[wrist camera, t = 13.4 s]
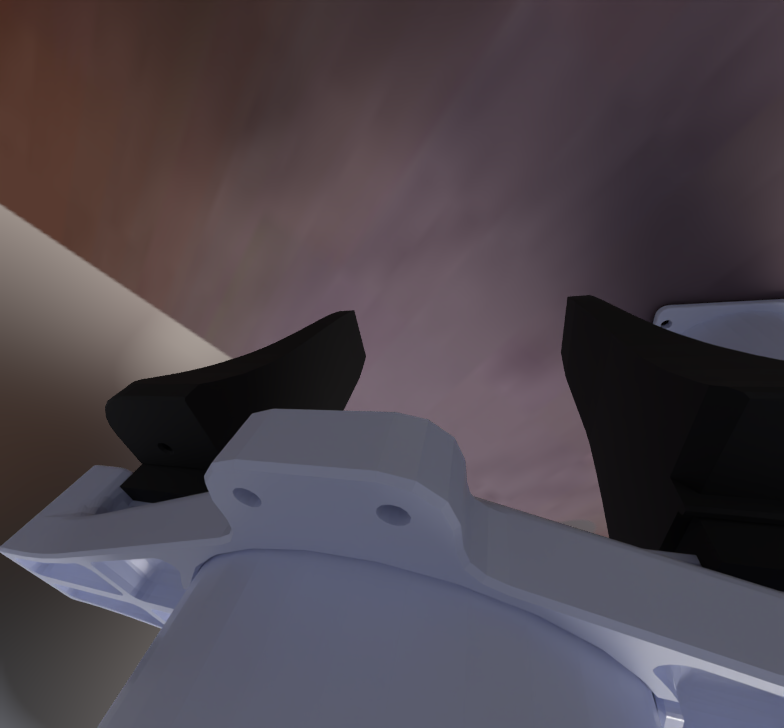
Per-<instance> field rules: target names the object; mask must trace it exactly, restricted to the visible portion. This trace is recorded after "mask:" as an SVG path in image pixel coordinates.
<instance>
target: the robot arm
mask: <svg viewBox="0 0 784 728" xmlns="http://www.w3.org/2000/svg"><path fill="white" fill-rule="evenodd" d="M666 320H669V322H668V323H667V324H666V325H661V323H662V322H664V321H666ZM561 355H562V360H563V366H564V371H565V376H566V379H567V382H568V385H569V387H570V390H571V393H572V396H573V398H574V401H575V404H576V406H577V409H578V411H579V414H580V417H581V420H582V422H583V425H584V428H585V430H586V433H587V437H588V440H589V443H590V447H591V452H592V456H593V460H594V464H595V469H596V473H597V478H598V483H599V487H600V492H601V497H602V502H603V507H604V512H605V518H606V523H607V528H608V534H609V538H607V537H604V536H600V535H597V534H594V533H591V532H587V531H584V530H581V529H578V528H574V527H571V526H568V525H565V524H562V523H558V522H555V521H552V520H549V519H546V518H542V517H539V516H536V515H533V514H529V513H526V512H523V511H520V510H517V509H513V508H510V507H507V506H504V505H500V504H497V503H494V502H491V501H487V500H484V499H481V498H478V497H475V496H473V495H472V494H471V493H470V491H469V488H468V484H467V475H466V462H465V459H464V456H463V454H462V452H461V450H460V448H459V446H458V444H457V442H456V440H455V438H454V437H453V436H451V435H450V434H448V433H447V432H445V431H444V430H443V429H441V428H440V427H438V426H437V425H435V424H434V423H433V422H431V421H430V420H428V419H424V418H419V417H415V416H411V415H406V414H402V413H397V412H372V411H343V410H344V408H345V406H346V404H347V402H348V400H349V398H350V396H351V394H352V392H353V390H354V388H355V386H356V384H357V382H358V380H359V378H360V375H361V372H362V369H363V365H364V362H365V358H366V355H365V351H364V347H363V343H362V339H361V335H360V331H359V327H358V323H357V320H356V316H355V312H354V310H352V311H339V312H336V313H333V314H331V315H328V316H326V317H324V318H322V319H320V320H318V321H316V322H315V323H313V324H311V325H309V326H307V327H305V328H303V329H302V330H300V331H298V332H296V333H294V334H292V335H290V336H288V337H286V338H284V339H282V340H280V341H278V342H276V343H273V344H271V345H269V346H267V347H264V348H262V349H259V350H257V351H254V352H252V353H249V354H246V355H244V356H240V357H237V358H234V359H231V360H228V361H225V362H222V363H218V364H215V365H211V366H207V367H204V368H199V369H195V370H191V371H186V372H181V373H176V374H171V375H165V376H159V377H153V378H148V379H141V380H138V381H135V382H133V383H131V384H130V385H128V386H127V387H126V388H125V389H123V390H122V391H120V392H119V393H118V394H116V395H115V396H113V397H112V398H111V399H110V400H108V401H107V404H106V406H105V411H106V418H107V420H108V422H109V425H110V426H111V428H112V429H113V430H114V432H115V433H116V434H117V436H118V437H119V438H120V439H121V440H122V441H123V443H124V444H125V445H126V446H127V447H128V448H129V449H130V451H131V452H132V453H133V454H134V455H135V456H136V457H137V459H138V460H139V461H140V462H141V463H143V464H142V465H141V466H140V467H139V468H138V469H137V470H136V471H135V472H134V473H133V472H131V471H129V470H127V469H125V468H120V467H111V466H101V465H96V466H93V467H92V468H91V469H90V470H89V471H87V472H86V473H85V474H84V475H83V476H82V477H80V478H79V479H78V480H77V481H76V482H75V483H74V484H72V485H71V486H70V487H69V488H68V489H67V490H66V491H64V492H63V493H62V494H61V495H60V496H58V497H57V498H56V499H55V500H54V501H53V502H52V503H50V504H49V505H48V506H47V507H46V508H45V509H44V510H42V511H41V512H40V513H39V514H38V515H36V517H34V518H33V519H32V520H31V521H30V522H28V523H27V524H26V525H25V526H24V527H22V528H21V529H20V530H19V531H18V532H17V533H16V534H14V535H13V536H12V537H11V538H10V539H9V540H7V541H6V543H4V544H3V545H2V546H1V547H0V553H2V554H3V555H5V556H7V557H8V558H10V559H11V560H13V561H14V562H16V563H17V564H19V565H21V566H22V567H24V568H25V569H26V570H28V571H30V572H31V573H33V574H34V575H36V576H37V577H39V578H41V579H42V580H43V581H45V582H47V583H48V584H50V585H51V586H53V587H54V588H56V589H57V590H59V591H60V592H62V593H63V594H65V595H67V596H68V597H70V598H71V599H74V600H78V601H81V602H85V603H88V604H92V605H95V606H98V607H101V608H104V609H108V610H110V611H113V612H116V613H119V614H122V615H125V616H128V617H131V618H134V619H136V620H139V621H142V622H145V623H147V624H150V625H153V626H156V627H158V628H161V630H160V632H159V633H158V635H157V636H156V638H155V639H154V641H153V643H152V644H151V646H150V647H149V649H148V650H147V652H146V653H145V655H144V656H143V658H142V659H141V661H140V662H139V664H138V666H137V667H136V669H135V670H134V672H133V673H132V675H131V676H130V678H129V679H128V681H127V683H126V684H125V686H124V687H123V689H122V690H121V692H120V693H119V695H118V696H117V698H116V699H115V701H114V703H113V704H112V706H111V707H110V709H109V710H108V712H107V713H106V715H105V716H104V718H103V719H102V721H101V722H100V724H99V726H98V727H97V728H784V299H774V300H755V301H737V302H718V303H699V304H680V305H667V306H663V307H661V308H660V309H659V310H657V312H656V314H655V317H654V321H653V324H652V323H650V322H647V321H645V320H643V319H641V318H638V317H636V316H634V315H632V314H630V313H628V312H626V311H623V310H621V309H619V308H617V307H615V306H613V305H611V304H609V303H607V302H605V301H603V300H601V299H599V298H596V297H594V296H591V295H587V296H571V297H568V298H567V307H566V315H565V323H564V332H563V340H562V349H561Z"/></svg>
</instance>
